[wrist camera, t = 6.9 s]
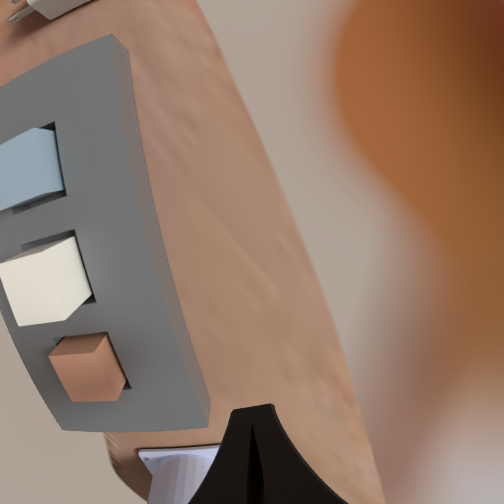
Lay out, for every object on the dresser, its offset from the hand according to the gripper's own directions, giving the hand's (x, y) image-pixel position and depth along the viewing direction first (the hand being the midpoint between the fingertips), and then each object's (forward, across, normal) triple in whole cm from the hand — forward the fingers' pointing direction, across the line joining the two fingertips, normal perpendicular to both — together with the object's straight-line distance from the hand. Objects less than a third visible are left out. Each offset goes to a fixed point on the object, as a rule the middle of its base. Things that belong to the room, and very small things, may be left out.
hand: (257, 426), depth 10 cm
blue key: (+9, +10, -11) cm, 18 cm away
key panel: (+10, +10, -5) cm, 15 cm away
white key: (+8, +10, -5) cm, 14 cm away
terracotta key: (+9, +10, +1) cm, 14 cm away
